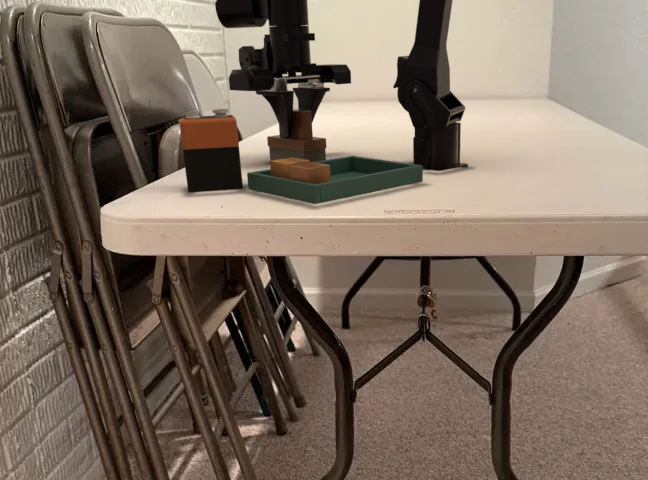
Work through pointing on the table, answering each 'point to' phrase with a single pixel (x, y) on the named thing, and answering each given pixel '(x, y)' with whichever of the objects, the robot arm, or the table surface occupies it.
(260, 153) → the table surface
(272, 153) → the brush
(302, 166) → the crumb
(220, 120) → the battery
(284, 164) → the brown wooden cube
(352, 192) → the tray
